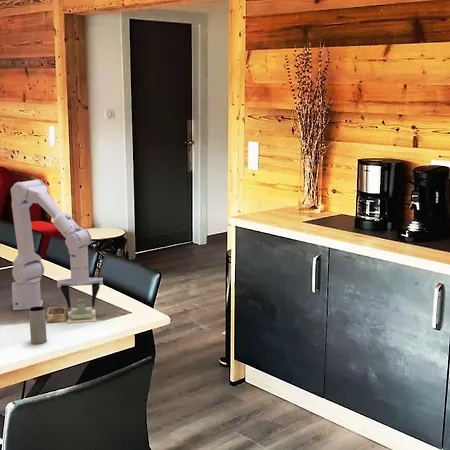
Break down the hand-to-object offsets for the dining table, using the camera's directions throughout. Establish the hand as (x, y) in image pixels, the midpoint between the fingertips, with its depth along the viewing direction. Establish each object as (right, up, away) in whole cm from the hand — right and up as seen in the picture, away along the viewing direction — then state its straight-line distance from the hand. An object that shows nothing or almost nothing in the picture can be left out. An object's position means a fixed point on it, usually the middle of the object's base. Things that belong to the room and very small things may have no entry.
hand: (81, 306), depth 222 cm
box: (-8, -4, -1) cm, 9 cm away
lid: (0, -3, +1) cm, 3 cm away
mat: (0, -3, +1) cm, 3 cm away
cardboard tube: (-8, -8, -21) cm, 24 cm away
